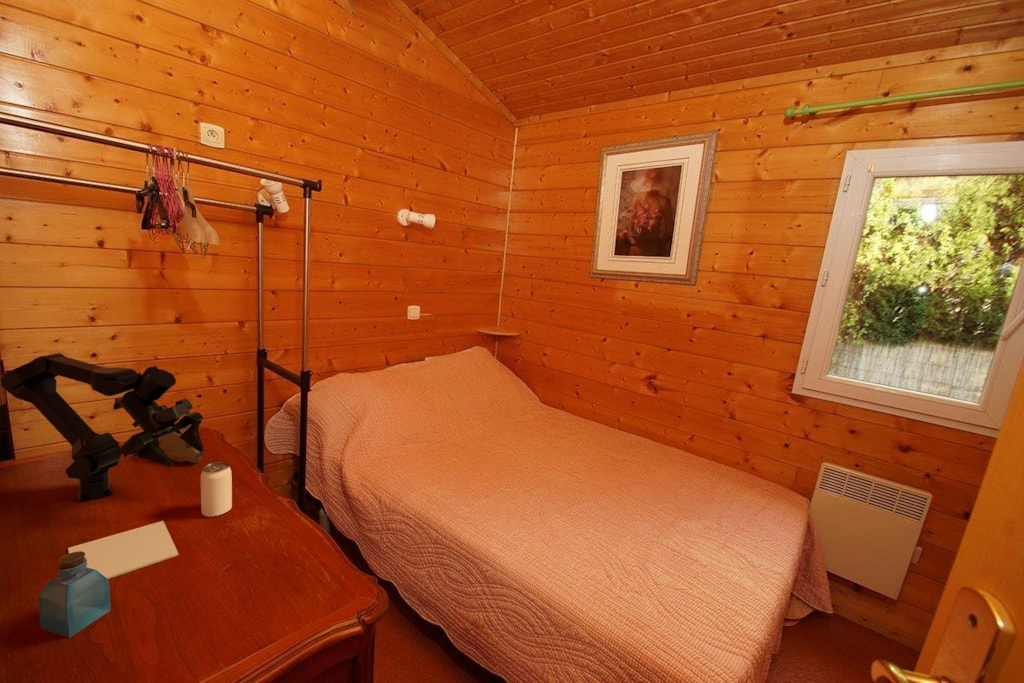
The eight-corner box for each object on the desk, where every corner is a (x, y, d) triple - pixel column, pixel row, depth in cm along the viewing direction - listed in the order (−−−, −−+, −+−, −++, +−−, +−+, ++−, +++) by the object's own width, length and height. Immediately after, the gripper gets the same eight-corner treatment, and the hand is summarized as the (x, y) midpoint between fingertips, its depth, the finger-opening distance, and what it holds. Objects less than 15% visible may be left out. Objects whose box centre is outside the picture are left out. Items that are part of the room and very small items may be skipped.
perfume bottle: (69, 637, 72) (64, 573, 70) (41, 628, 73) (35, 565, 71) (110, 610, 78) (106, 550, 76) (83, 602, 79) (79, 543, 77)
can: (237, 508, 112) (237, 465, 110) (211, 520, 106) (210, 475, 104) (221, 501, 115) (221, 459, 113) (195, 512, 109) (194, 468, 107)
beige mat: (68, 549, 92) (68, 547, 92) (163, 522, 104) (163, 520, 104) (73, 590, 82) (73, 588, 82) (178, 555, 93) (178, 553, 93)
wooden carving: (210, 461, 135) (209, 431, 134) (197, 468, 131) (196, 436, 129) (165, 453, 138) (164, 423, 136) (151, 459, 133) (150, 428, 132)
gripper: (129, 402, 98) (176, 454, 98) (196, 382, 116) (235, 426, 117) (99, 431, 99) (145, 482, 100) (170, 407, 118) (208, 450, 119)
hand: (187, 458), depth 109 cm, fingers open, 9 cm apart
